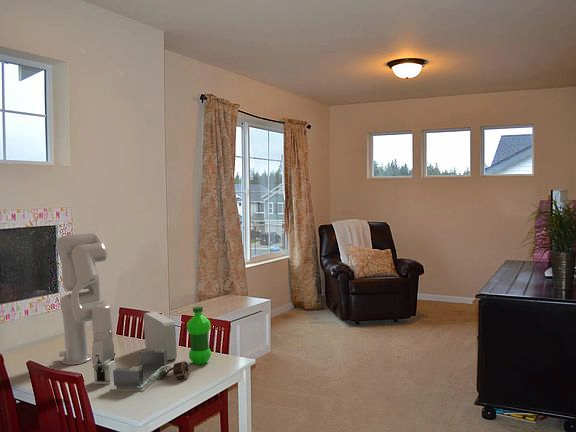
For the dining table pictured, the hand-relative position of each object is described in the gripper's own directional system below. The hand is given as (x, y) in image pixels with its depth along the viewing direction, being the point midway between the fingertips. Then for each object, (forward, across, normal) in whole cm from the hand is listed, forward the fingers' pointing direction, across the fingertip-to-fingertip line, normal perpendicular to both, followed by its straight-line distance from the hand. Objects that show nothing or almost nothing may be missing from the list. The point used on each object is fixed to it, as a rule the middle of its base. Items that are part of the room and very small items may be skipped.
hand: (105, 377), depth 219 cm
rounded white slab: (+2, -36, +8) cm, 37 cm away
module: (+2, 0, 0) cm, 2 cm away
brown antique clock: (+2, -7, +28) cm, 29 cm away
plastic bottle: (+2, -25, +32) cm, 41 cm away
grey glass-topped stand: (+2, -4, +14) cm, 15 cm away
